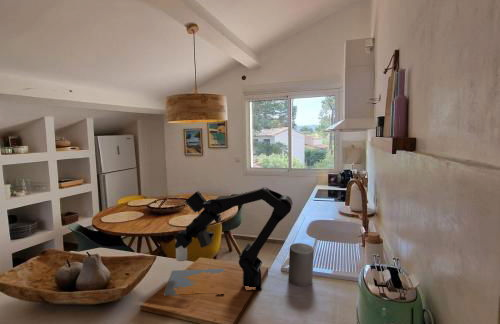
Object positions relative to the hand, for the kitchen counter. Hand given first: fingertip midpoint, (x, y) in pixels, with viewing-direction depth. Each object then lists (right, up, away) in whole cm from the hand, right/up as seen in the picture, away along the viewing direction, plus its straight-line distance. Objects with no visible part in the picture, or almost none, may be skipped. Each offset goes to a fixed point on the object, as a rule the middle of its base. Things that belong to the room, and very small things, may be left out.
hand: (178, 245), depth 112 cm
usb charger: (+1, -6, 0) cm, 6 cm away
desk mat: (+8, -14, -4) cm, 17 cm away
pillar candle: (+50, -14, -1) cm, 52 cm away
